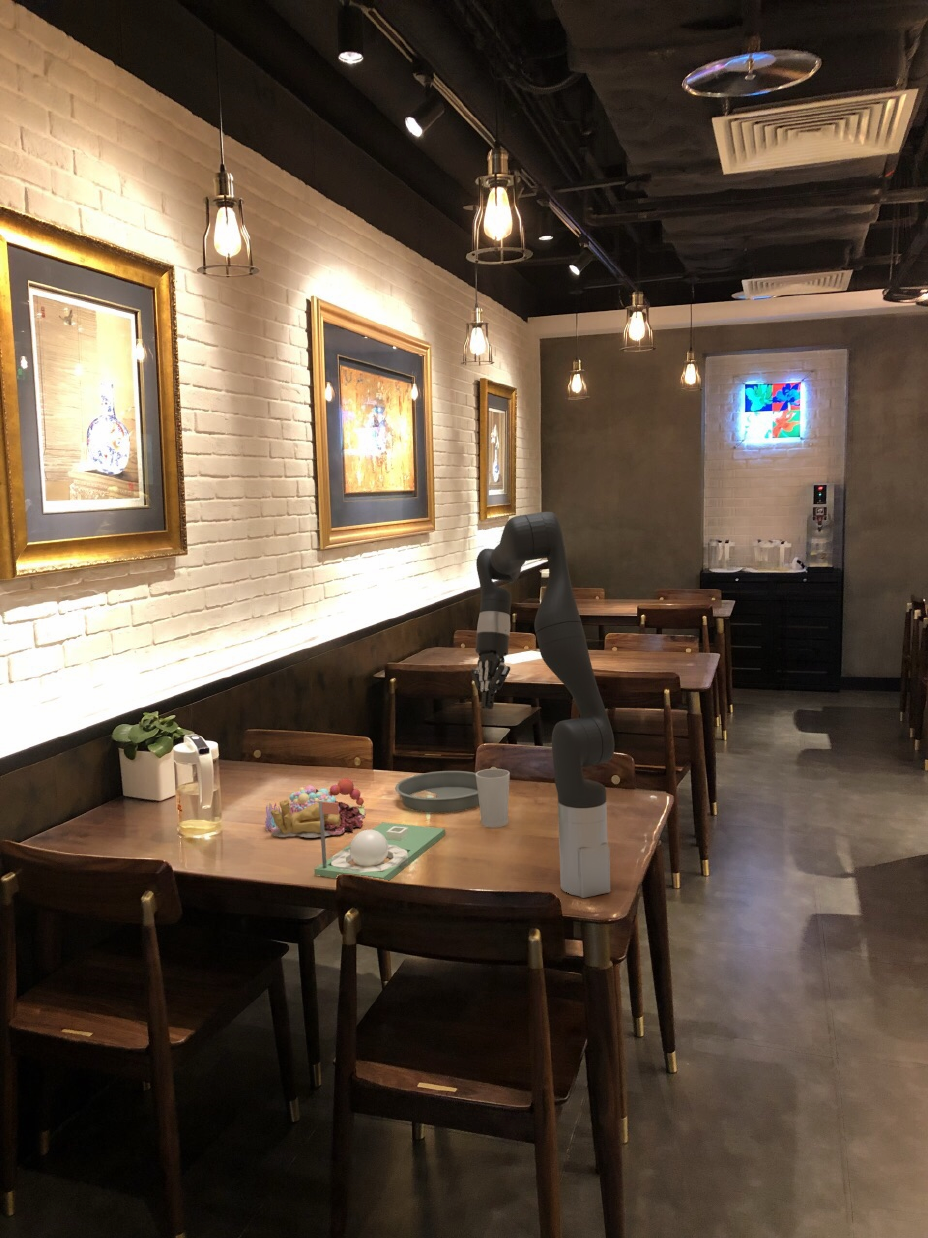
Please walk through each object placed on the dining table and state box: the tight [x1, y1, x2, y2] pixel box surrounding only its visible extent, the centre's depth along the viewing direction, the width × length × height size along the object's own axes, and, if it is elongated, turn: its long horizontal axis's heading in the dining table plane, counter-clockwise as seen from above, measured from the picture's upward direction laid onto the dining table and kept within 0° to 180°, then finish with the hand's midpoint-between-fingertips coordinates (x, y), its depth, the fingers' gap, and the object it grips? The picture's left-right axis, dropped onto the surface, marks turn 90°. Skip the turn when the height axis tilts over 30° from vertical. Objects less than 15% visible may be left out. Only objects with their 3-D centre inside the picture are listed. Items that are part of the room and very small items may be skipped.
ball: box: [349, 829, 388, 867], centre depth 198 cm, size 8×8×8 cm
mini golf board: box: [313, 801, 446, 881], centre depth 204 cm, size 30×16×16 cm, turn 157°
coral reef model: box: [264, 777, 367, 839], centre depth 228 cm, size 25×24×9 cm
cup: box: [475, 768, 511, 829], centre depth 222 cm, size 8×8×12 cm
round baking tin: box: [394, 770, 480, 814], centre depth 242 cm, size 25×25×4 cm
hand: (486, 708), depth 213 cm, fingers closed
